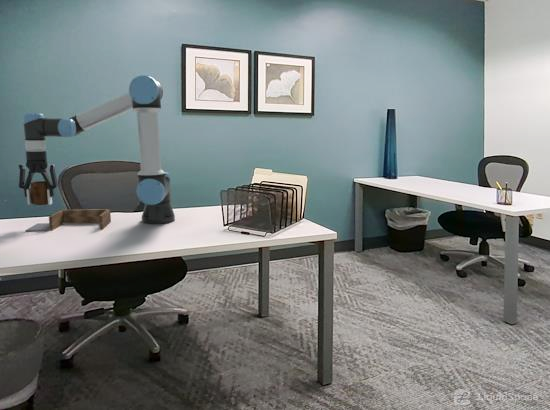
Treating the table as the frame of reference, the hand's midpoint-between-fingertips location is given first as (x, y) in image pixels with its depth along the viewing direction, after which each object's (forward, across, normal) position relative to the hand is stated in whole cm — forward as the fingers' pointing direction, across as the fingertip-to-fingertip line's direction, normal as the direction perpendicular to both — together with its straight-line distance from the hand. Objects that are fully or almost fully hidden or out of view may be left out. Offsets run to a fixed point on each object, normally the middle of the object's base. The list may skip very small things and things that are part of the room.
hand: (40, 204), depth 186 cm
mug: (0, 0, 0) cm, 0 cm away
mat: (+10, 0, 0) cm, 10 cm away
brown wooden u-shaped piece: (+10, -16, -2) cm, 19 cm away
